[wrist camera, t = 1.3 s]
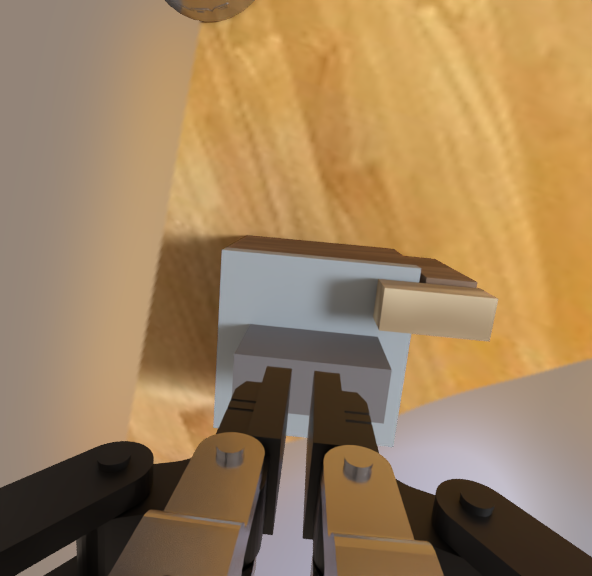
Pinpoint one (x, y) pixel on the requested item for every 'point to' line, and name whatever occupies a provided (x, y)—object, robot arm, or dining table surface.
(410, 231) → the dining table surface
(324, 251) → the toolbox
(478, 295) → the wooden key
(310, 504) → the robot arm
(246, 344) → the lid
